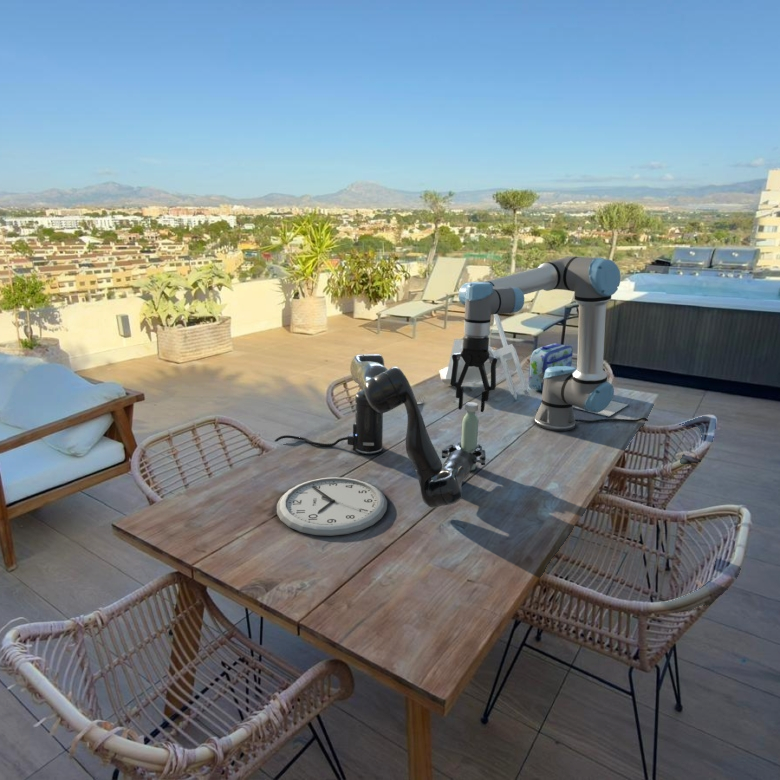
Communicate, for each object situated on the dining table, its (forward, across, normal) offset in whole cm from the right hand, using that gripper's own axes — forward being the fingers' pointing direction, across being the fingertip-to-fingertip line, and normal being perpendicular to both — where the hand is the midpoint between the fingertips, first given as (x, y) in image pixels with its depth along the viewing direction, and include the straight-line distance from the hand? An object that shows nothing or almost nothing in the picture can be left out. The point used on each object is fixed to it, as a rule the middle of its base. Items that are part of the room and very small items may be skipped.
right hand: (471, 409), depth 161 cm
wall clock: (+20, +31, +36) cm, 52 cm away
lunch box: (+20, -22, -100) cm, 104 cm away
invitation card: (+20, -44, -79) cm, 93 cm away
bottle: (+20, 0, 0) cm, 20 cm away
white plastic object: (+20, +9, -81) cm, 84 cm away
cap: (-1, 0, 0) cm, 1 cm away
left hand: (+13, 0, -3) cm, 13 cm away
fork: (+20, +31, -51) cm, 63 cm away
